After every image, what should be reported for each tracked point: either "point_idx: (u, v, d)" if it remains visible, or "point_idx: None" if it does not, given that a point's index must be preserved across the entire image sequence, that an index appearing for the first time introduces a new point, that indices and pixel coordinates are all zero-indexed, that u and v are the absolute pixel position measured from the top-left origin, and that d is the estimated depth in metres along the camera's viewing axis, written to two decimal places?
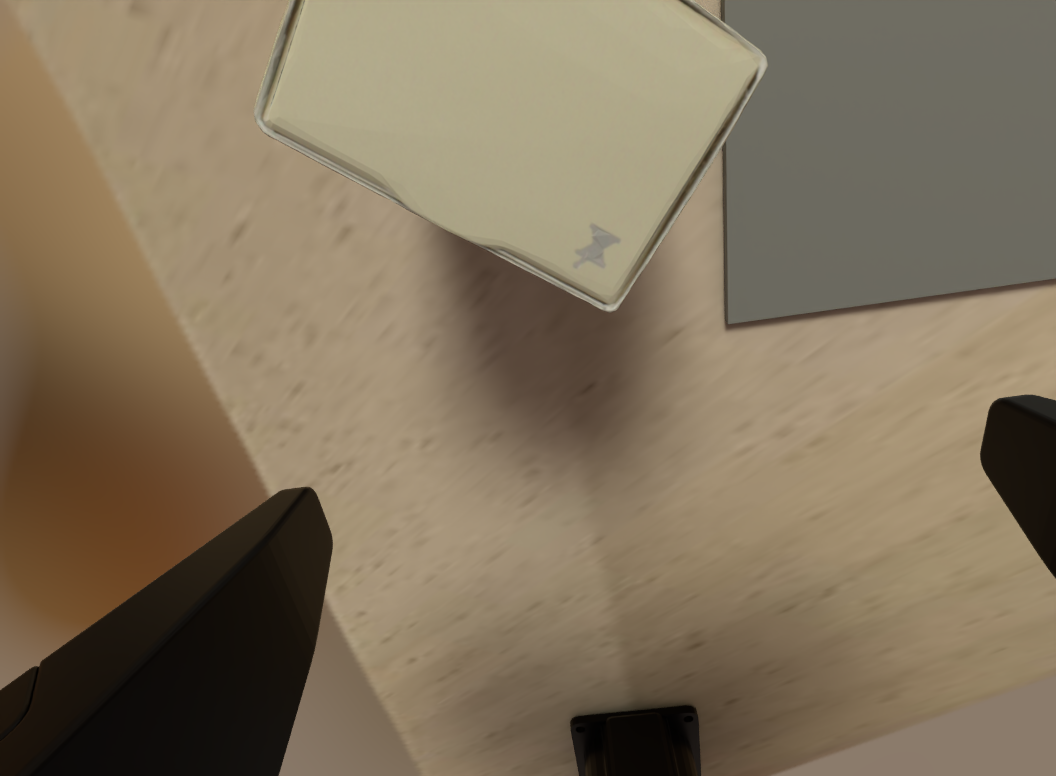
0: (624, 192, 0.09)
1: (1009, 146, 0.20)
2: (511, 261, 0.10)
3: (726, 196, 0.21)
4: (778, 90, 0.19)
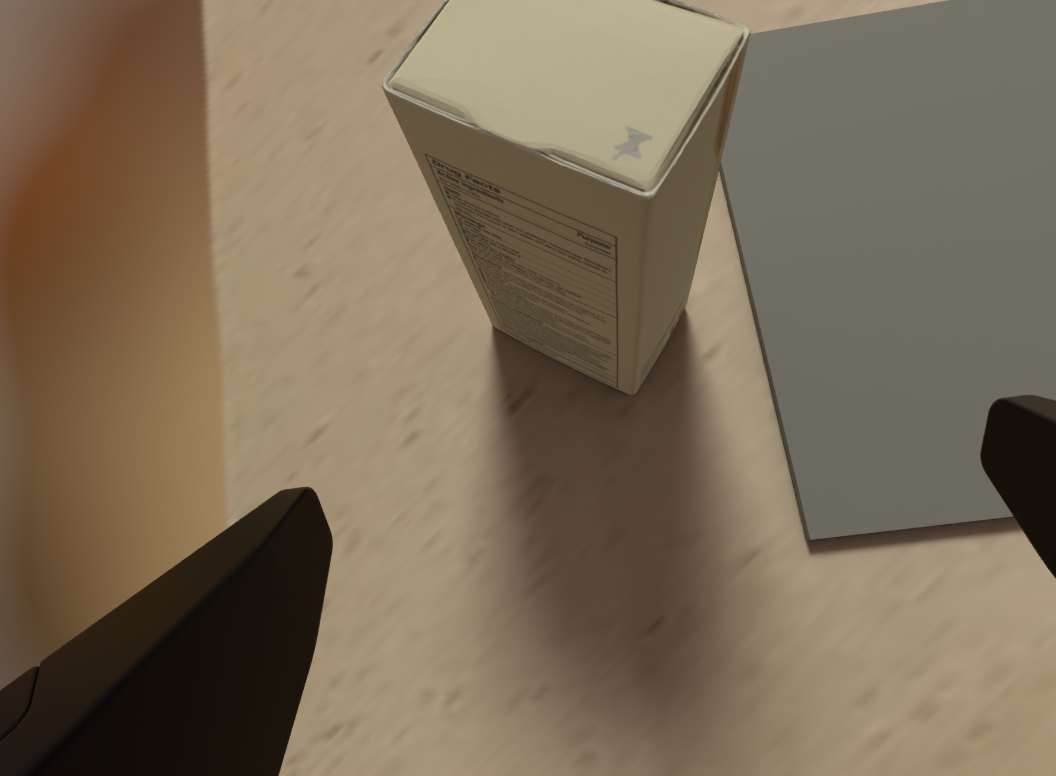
0: (652, 105, 0.12)
1: (1048, 362, 0.21)
2: (560, 167, 0.12)
3: (778, 404, 0.22)
4: (804, 317, 0.22)
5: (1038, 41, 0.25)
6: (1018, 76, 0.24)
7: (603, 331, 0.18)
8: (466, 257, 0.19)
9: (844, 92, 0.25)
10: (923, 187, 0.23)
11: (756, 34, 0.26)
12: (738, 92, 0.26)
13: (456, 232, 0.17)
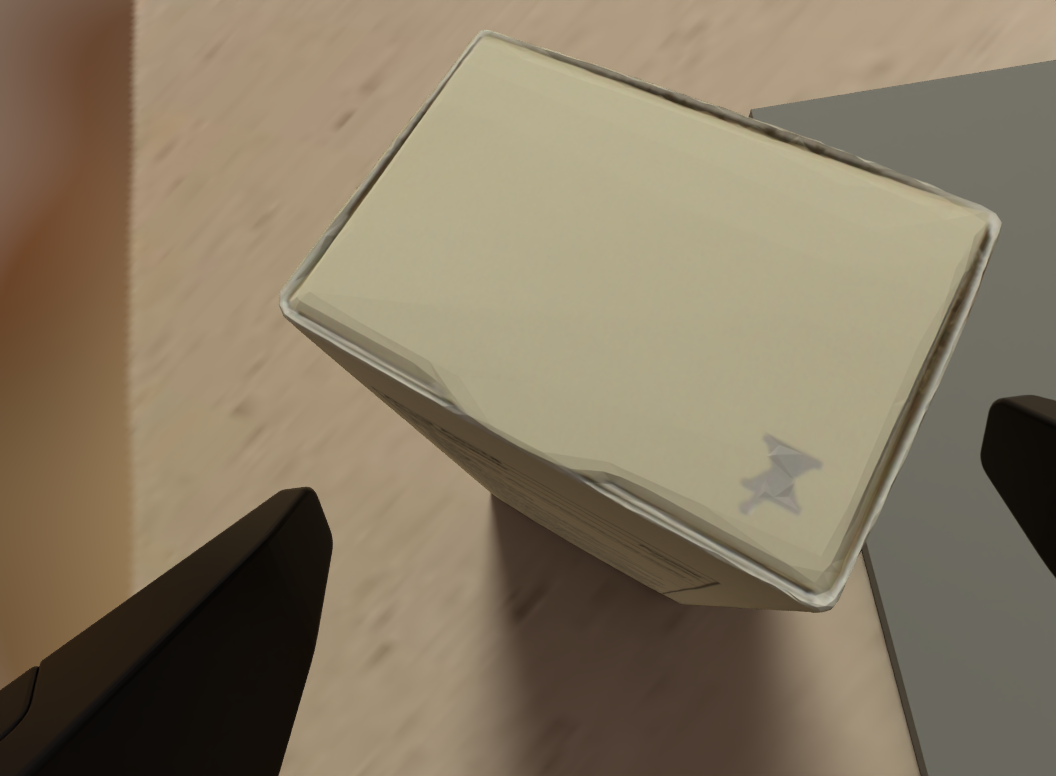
0: (816, 385, 0.06)
1: None
2: (623, 509, 0.06)
3: (888, 627, 0.16)
4: (919, 497, 0.16)
5: None
6: None
7: (655, 579, 0.12)
8: (451, 457, 0.13)
9: (954, 177, 0.19)
10: None
11: (833, 97, 0.20)
12: None
13: (434, 442, 0.11)
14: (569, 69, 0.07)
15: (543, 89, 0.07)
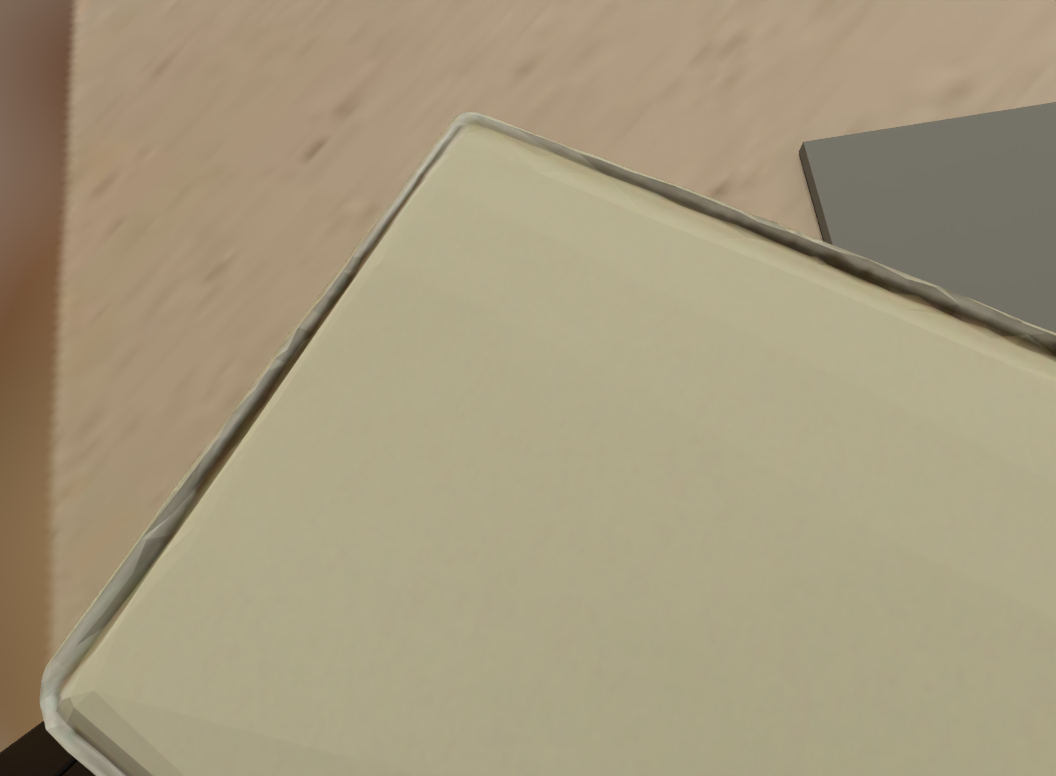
0: None
1: None
2: None
3: None
4: None
5: None
6: None
7: None
8: None
9: None
10: None
11: (904, 128, 0.17)
12: (881, 225, 0.16)
13: None
14: (630, 196, 0.04)
15: (581, 242, 0.04)
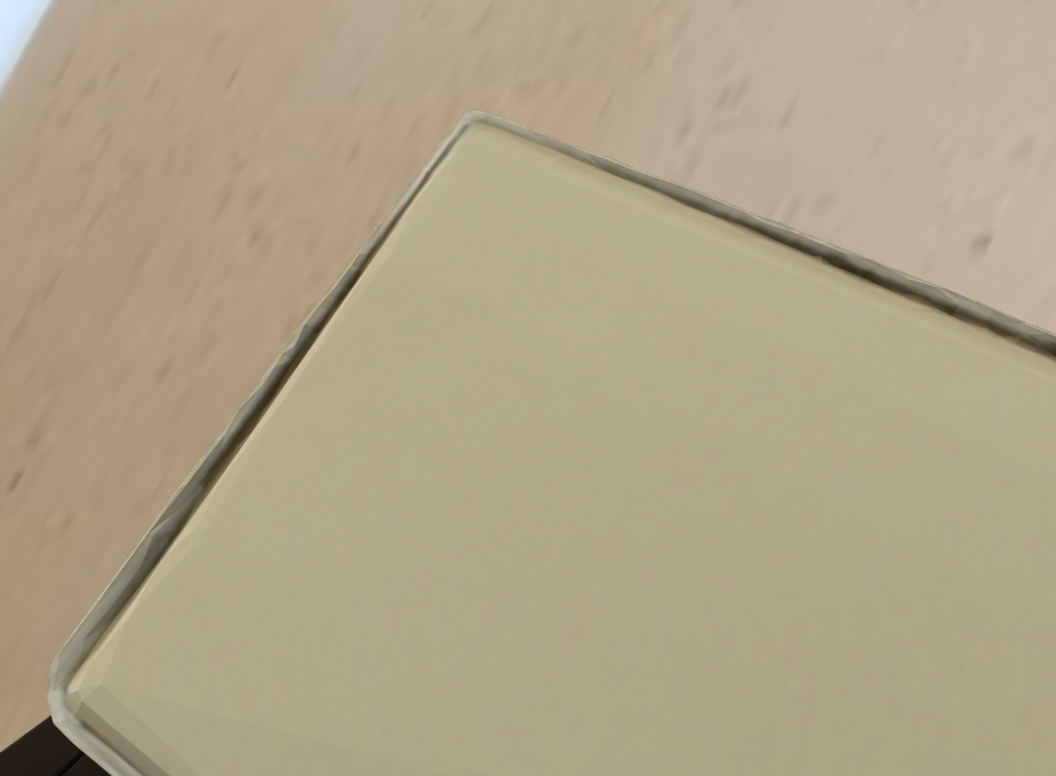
0: None
1: None
2: None
3: None
4: None
5: None
6: None
7: None
8: None
9: None
10: None
11: None
12: None
13: None
14: (636, 196, 0.04)
15: (587, 240, 0.04)
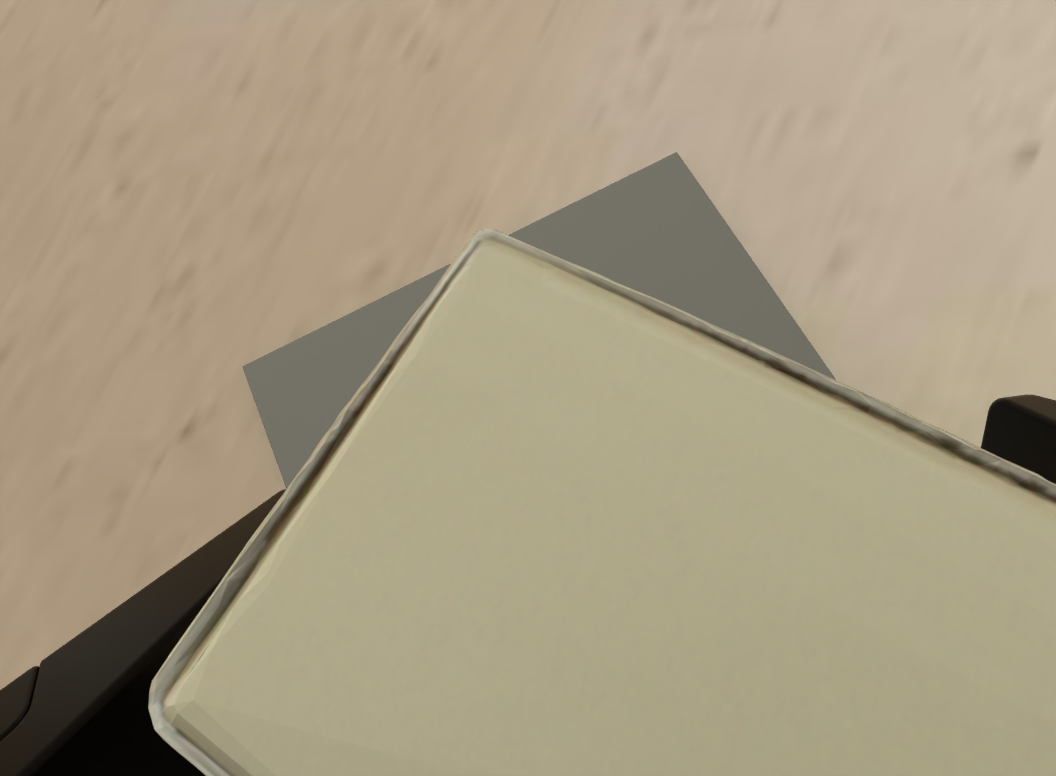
0: None
1: None
2: None
3: None
4: None
5: (684, 242, 0.18)
6: (672, 302, 0.17)
7: None
8: None
9: None
10: None
11: (324, 328, 0.18)
12: (315, 428, 0.18)
13: None
14: (616, 306, 0.05)
15: (576, 345, 0.05)
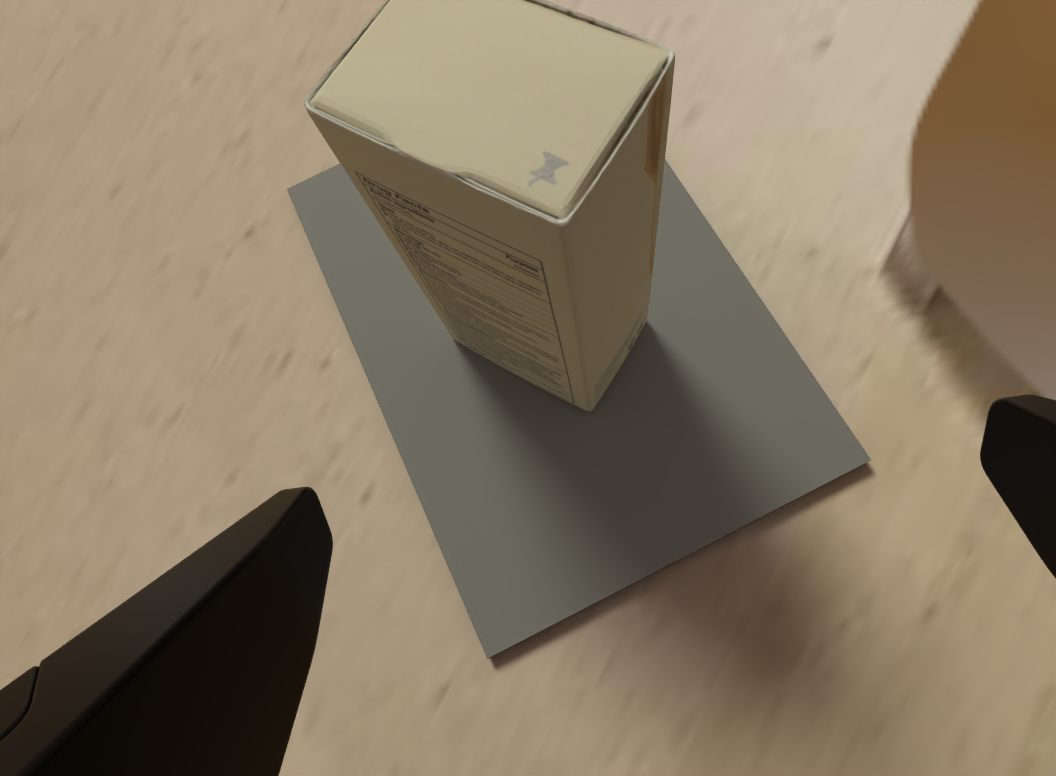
0: (571, 129, 0.11)
1: (658, 408, 0.22)
2: (476, 192, 0.12)
3: None
4: (439, 434, 0.23)
5: None
6: None
7: (549, 350, 0.18)
8: (414, 272, 0.19)
9: None
10: None
11: None
12: (337, 225, 0.26)
13: (400, 248, 0.17)
14: None
15: None
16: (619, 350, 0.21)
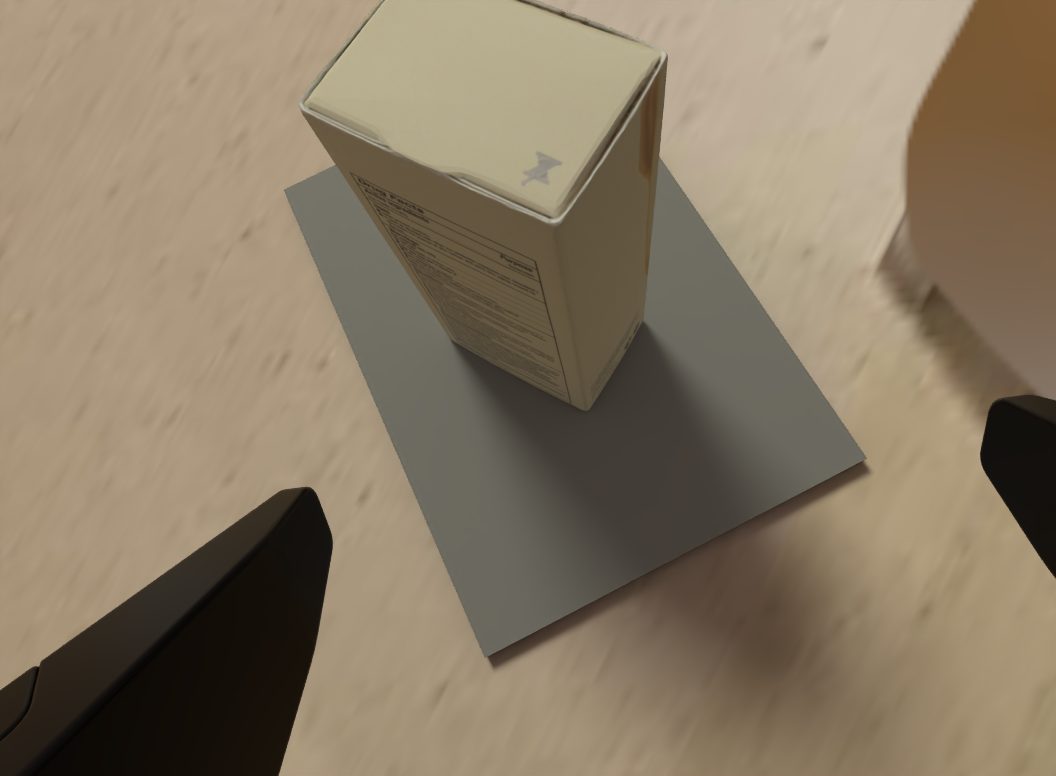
0: (564, 129, 0.12)
1: (654, 407, 0.22)
2: (469, 191, 0.12)
3: (430, 529, 0.22)
4: (437, 434, 0.23)
5: None
6: None
7: (545, 349, 0.18)
8: (410, 272, 0.19)
9: None
10: None
11: None
12: (334, 226, 0.26)
13: (395, 248, 0.17)
14: None
15: None
16: (615, 349, 0.21)
